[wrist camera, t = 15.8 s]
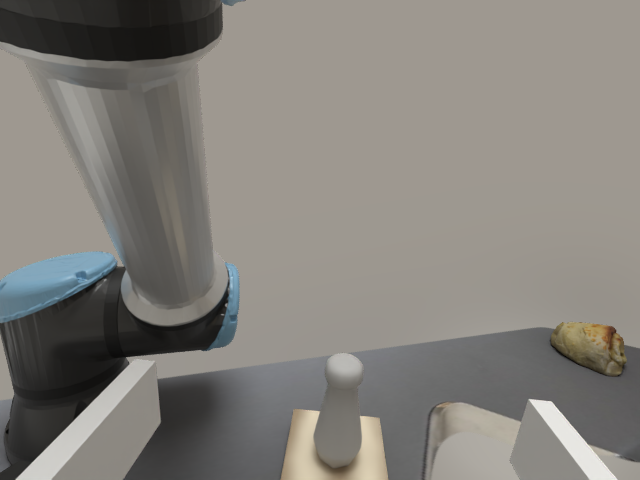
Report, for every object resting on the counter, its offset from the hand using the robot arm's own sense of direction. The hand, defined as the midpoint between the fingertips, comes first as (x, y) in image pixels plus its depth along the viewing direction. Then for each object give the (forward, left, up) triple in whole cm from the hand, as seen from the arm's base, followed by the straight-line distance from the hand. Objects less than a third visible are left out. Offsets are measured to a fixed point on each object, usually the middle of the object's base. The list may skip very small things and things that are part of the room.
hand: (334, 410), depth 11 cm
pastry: (+55, +54, -30) cm, 83 cm away
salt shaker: (+2, +21, -26) cm, 34 cm away
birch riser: (+2, +21, -29) cm, 36 cm away
